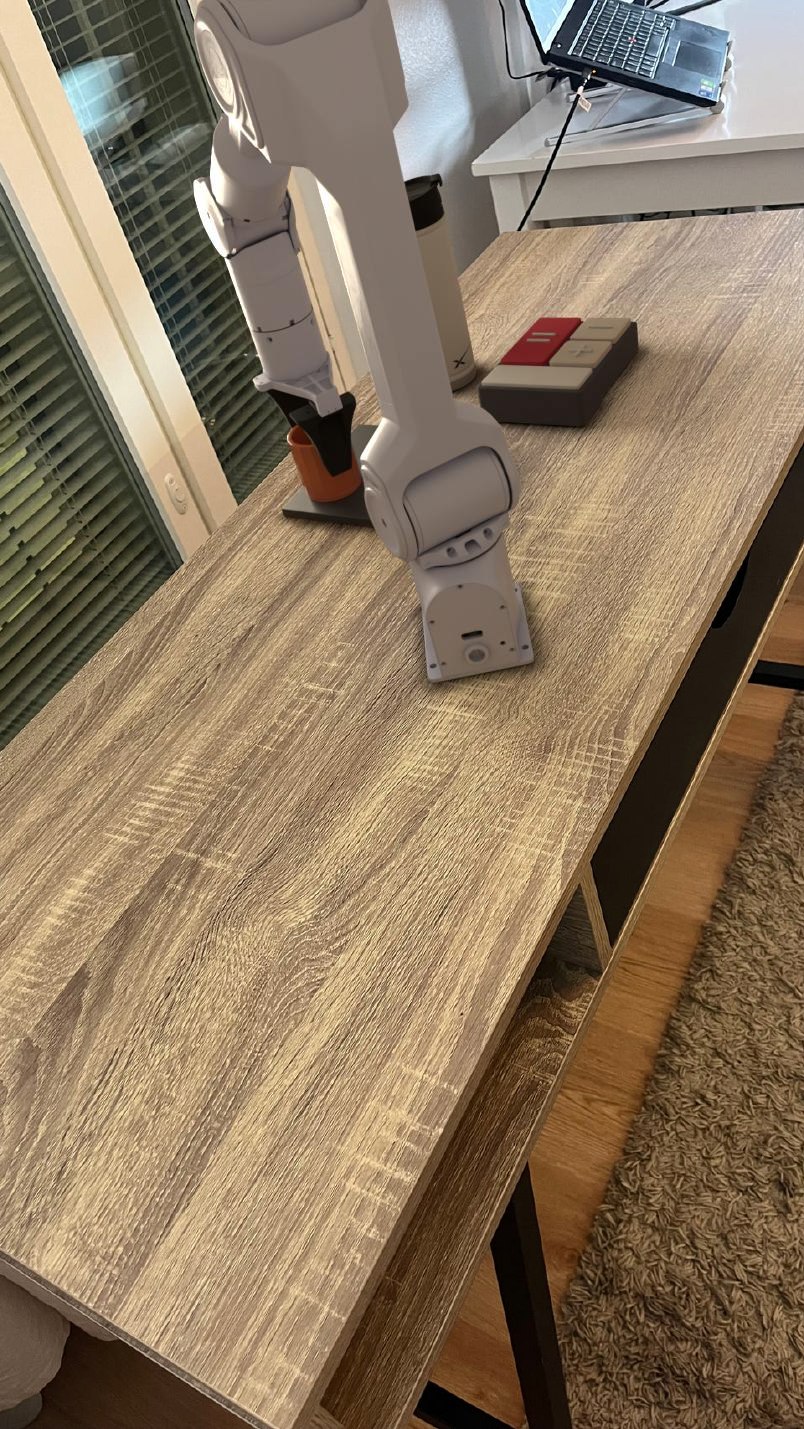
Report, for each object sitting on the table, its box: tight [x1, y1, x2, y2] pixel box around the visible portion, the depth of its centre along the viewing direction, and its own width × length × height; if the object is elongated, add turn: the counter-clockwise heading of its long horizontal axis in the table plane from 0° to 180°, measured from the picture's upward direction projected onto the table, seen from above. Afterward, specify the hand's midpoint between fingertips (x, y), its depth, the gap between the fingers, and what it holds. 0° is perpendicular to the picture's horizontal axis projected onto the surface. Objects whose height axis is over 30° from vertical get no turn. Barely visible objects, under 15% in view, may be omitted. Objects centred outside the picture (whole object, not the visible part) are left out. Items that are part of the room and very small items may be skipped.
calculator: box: [476, 316, 640, 427], centre depth 106 cm, size 11×4×15 cm
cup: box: [286, 425, 362, 502], centre depth 100 cm, size 6×6×6 cm
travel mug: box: [404, 173, 478, 392], centre depth 107 cm, size 6×7×20 cm
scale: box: [281, 423, 379, 528], centre depth 103 cm, size 15×12×2 cm
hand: (325, 455), depth 100 cm, fingers open, 7 cm apart
